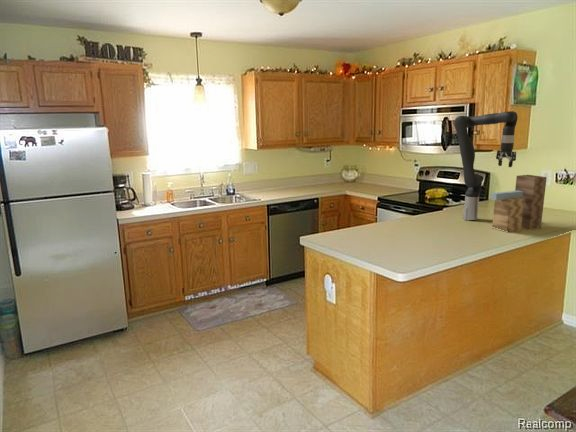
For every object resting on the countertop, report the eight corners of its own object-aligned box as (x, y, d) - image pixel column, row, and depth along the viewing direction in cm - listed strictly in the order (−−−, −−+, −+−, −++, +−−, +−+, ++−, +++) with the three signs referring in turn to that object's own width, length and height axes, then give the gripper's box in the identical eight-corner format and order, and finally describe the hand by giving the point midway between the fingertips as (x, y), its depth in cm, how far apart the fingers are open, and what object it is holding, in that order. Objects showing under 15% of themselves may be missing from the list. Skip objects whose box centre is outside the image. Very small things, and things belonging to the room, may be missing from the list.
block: (506, 232, 270) (509, 200, 265) (492, 227, 281) (494, 197, 276) (520, 230, 274) (524, 198, 269) (506, 226, 285) (509, 195, 280)
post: (529, 229, 275) (534, 178, 267) (511, 224, 288) (516, 175, 280) (540, 228, 278) (546, 177, 270) (522, 223, 291) (528, 174, 283)
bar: (496, 200, 267) (496, 194, 266) (491, 199, 270) (491, 193, 269) (522, 197, 274) (523, 191, 273) (517, 196, 277) (518, 190, 276)
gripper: (520, 142, 273) (517, 167, 277) (503, 141, 286) (501, 165, 290) (511, 142, 271) (509, 167, 275) (494, 141, 284) (492, 165, 288)
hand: (504, 166), depth 282 cm, fingers open, 8 cm apart
